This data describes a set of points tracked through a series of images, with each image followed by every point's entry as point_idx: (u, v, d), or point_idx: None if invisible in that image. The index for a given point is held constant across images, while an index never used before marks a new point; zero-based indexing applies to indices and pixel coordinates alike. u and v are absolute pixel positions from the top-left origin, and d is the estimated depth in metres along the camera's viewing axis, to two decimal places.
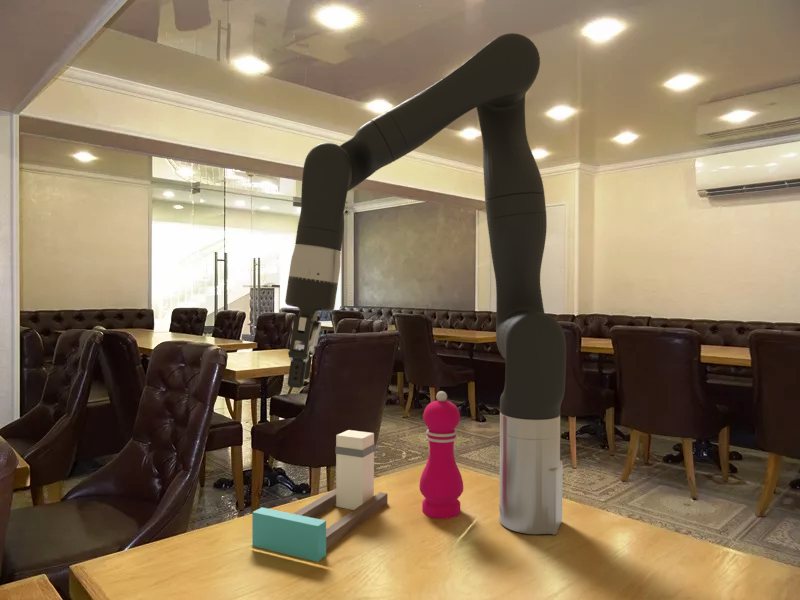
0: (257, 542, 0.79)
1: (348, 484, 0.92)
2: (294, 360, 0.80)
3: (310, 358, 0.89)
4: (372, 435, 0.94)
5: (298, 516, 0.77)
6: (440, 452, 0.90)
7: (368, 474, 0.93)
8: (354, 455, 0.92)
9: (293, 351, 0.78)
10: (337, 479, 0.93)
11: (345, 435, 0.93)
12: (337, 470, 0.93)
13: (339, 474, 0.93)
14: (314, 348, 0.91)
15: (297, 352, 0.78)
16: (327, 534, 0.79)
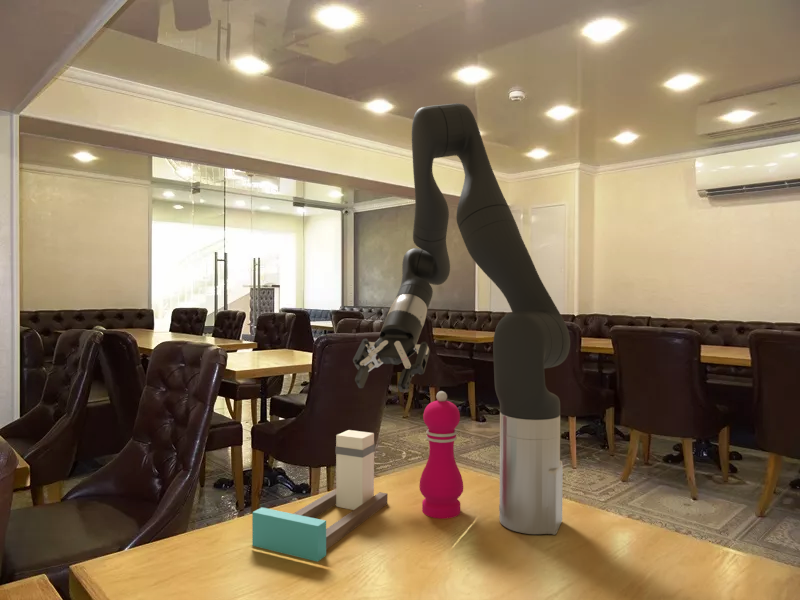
0: (257, 542, 0.79)
1: (348, 484, 0.92)
2: None
3: (402, 371, 1.02)
4: (372, 435, 0.94)
5: (298, 516, 0.77)
6: (440, 452, 0.90)
7: (368, 474, 0.93)
8: (354, 455, 0.92)
9: None
10: (337, 479, 0.93)
11: (345, 435, 0.93)
12: (337, 470, 0.93)
13: (339, 474, 0.93)
14: (415, 364, 1.02)
15: None
16: (327, 534, 0.79)
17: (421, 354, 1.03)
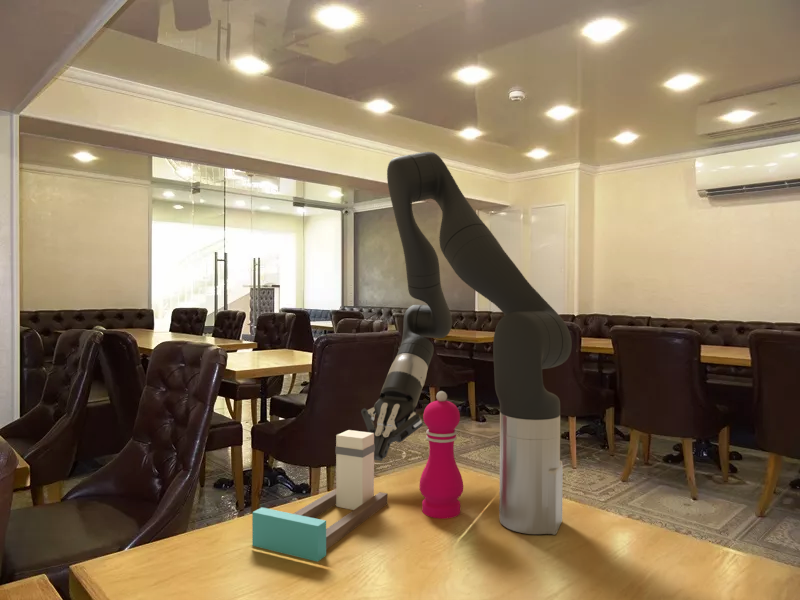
0: (257, 542, 0.79)
1: (348, 484, 0.92)
2: None
3: (380, 439, 1.03)
4: (372, 435, 0.94)
5: (298, 516, 0.77)
6: (440, 452, 0.90)
7: (368, 474, 0.93)
8: (354, 455, 0.92)
9: None
10: (337, 479, 0.93)
11: (345, 435, 0.93)
12: (337, 470, 0.93)
13: (339, 474, 0.93)
14: (393, 431, 1.03)
15: None
16: (327, 534, 0.79)
17: (405, 425, 1.03)
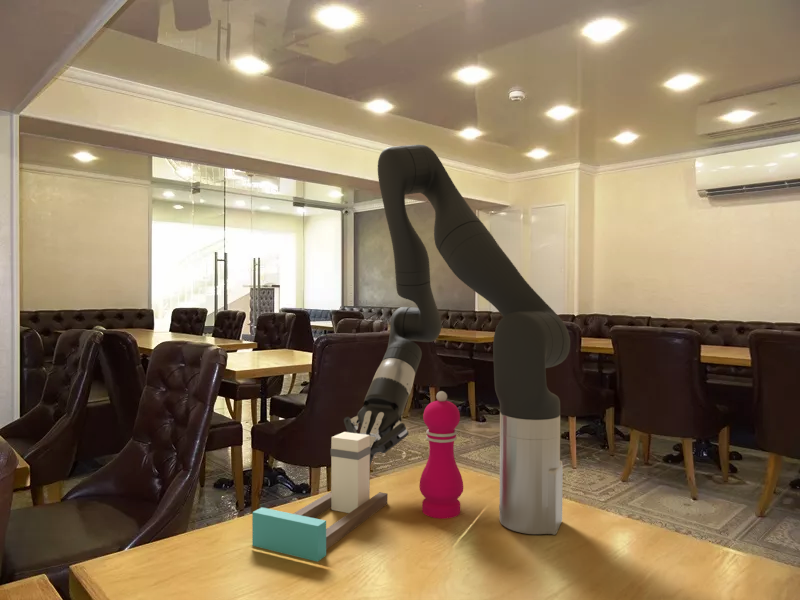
0: (257, 542, 0.79)
1: (344, 486, 0.91)
2: None
3: None
4: (368, 437, 0.93)
5: (298, 516, 0.77)
6: (440, 452, 0.90)
7: (364, 477, 0.92)
8: (350, 457, 0.90)
9: None
10: (332, 482, 0.92)
11: (340, 437, 0.92)
12: (332, 473, 0.92)
13: (334, 477, 0.92)
14: (377, 441, 0.97)
15: None
16: (327, 534, 0.79)
17: (390, 435, 0.97)
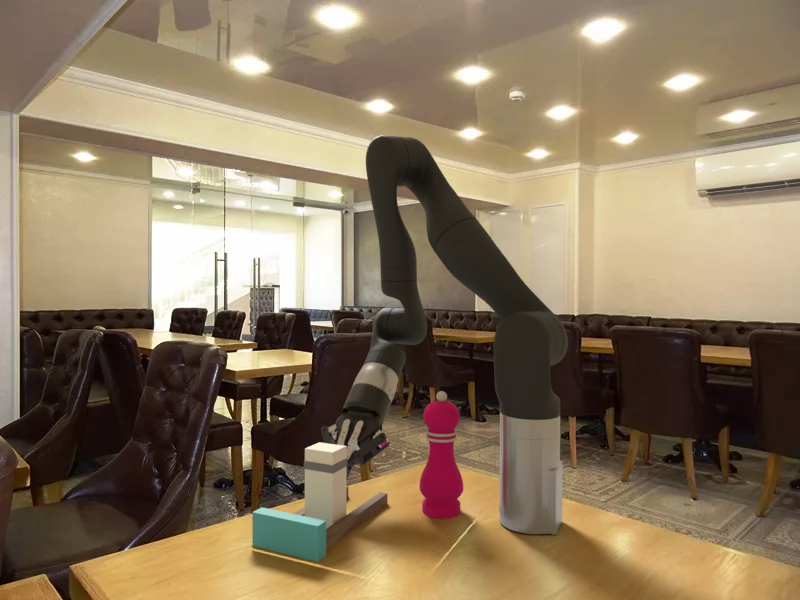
0: (257, 542, 0.79)
1: (318, 502, 0.84)
2: None
3: None
4: (344, 448, 0.86)
5: (298, 516, 0.77)
6: (440, 452, 0.90)
7: (339, 491, 0.85)
8: (324, 470, 0.84)
9: None
10: (305, 497, 0.85)
11: (314, 448, 0.85)
12: (306, 487, 0.85)
13: (308, 491, 0.85)
14: (355, 452, 0.90)
15: None
16: (327, 534, 0.79)
17: (369, 446, 0.90)
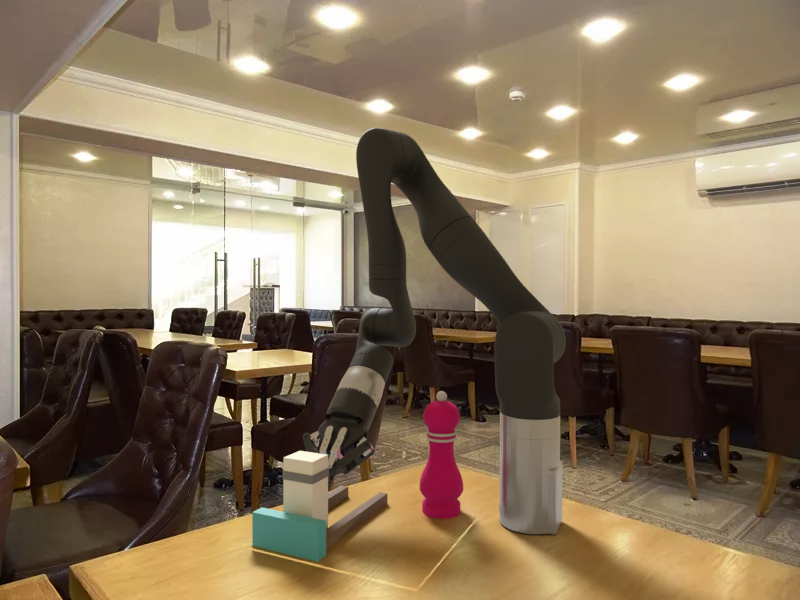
0: (257, 542, 0.79)
1: (297, 514, 0.79)
2: None
3: None
4: (326, 457, 0.81)
5: (298, 516, 0.77)
6: (440, 452, 0.90)
7: (320, 503, 0.80)
8: (303, 481, 0.79)
9: None
10: (284, 509, 0.80)
11: (293, 458, 0.80)
12: (284, 498, 0.80)
13: (286, 503, 0.80)
14: (338, 461, 0.85)
15: None
16: (327, 534, 0.79)
17: (352, 454, 0.85)
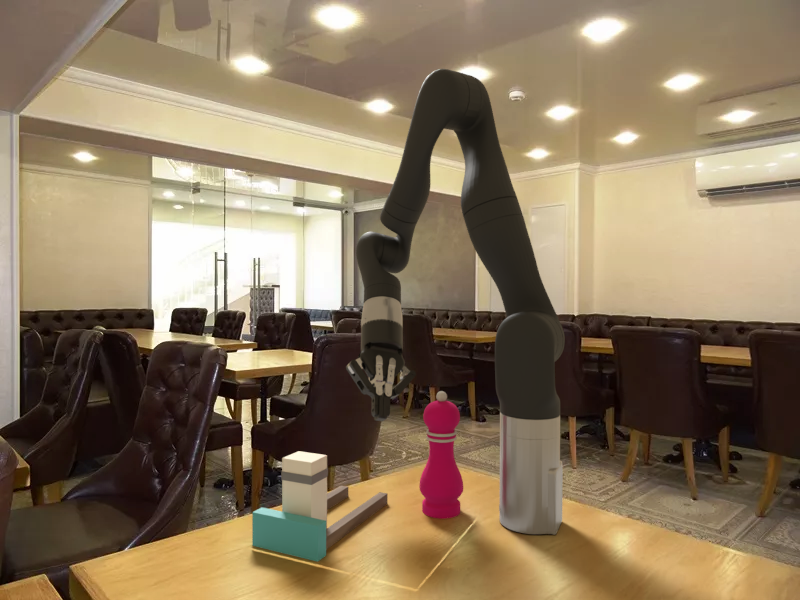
0: (257, 542, 0.79)
1: None
2: (370, 396, 0.95)
3: (383, 398, 0.94)
4: (325, 458, 0.81)
5: (298, 516, 0.77)
6: (440, 452, 0.90)
7: (319, 504, 0.80)
8: (302, 482, 0.79)
9: (362, 387, 0.95)
10: (283, 510, 0.80)
11: (292, 458, 0.80)
12: (283, 499, 0.80)
13: (285, 504, 0.80)
14: (394, 389, 0.96)
15: (364, 386, 0.95)
16: (327, 534, 0.79)
17: (405, 383, 0.97)
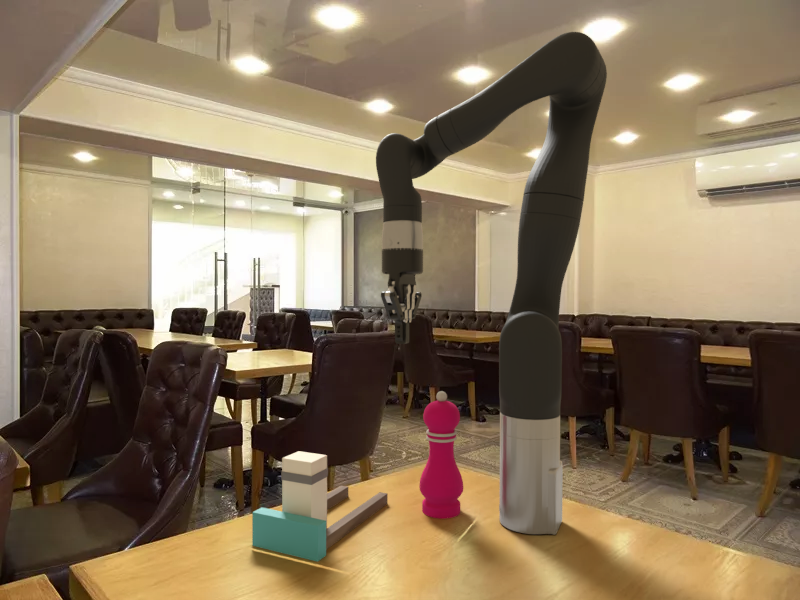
0: (257, 542, 0.79)
1: None
2: (395, 321, 1.00)
3: None
4: (325, 458, 0.81)
5: (298, 516, 0.77)
6: (440, 452, 0.90)
7: (319, 504, 0.80)
8: (302, 482, 0.79)
9: (391, 314, 0.99)
10: (283, 510, 0.80)
11: (292, 458, 0.80)
12: (283, 499, 0.80)
13: (285, 504, 0.80)
14: (412, 314, 1.03)
15: (394, 314, 0.98)
16: (327, 534, 0.79)
17: (417, 306, 1.04)
